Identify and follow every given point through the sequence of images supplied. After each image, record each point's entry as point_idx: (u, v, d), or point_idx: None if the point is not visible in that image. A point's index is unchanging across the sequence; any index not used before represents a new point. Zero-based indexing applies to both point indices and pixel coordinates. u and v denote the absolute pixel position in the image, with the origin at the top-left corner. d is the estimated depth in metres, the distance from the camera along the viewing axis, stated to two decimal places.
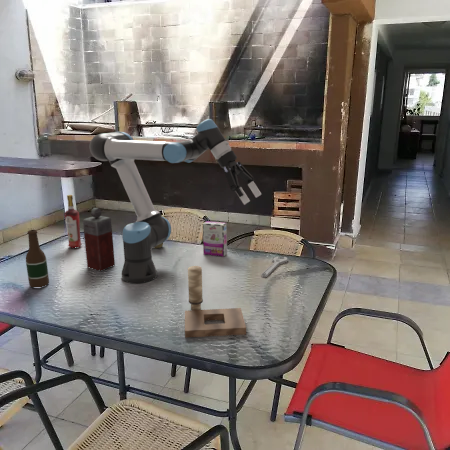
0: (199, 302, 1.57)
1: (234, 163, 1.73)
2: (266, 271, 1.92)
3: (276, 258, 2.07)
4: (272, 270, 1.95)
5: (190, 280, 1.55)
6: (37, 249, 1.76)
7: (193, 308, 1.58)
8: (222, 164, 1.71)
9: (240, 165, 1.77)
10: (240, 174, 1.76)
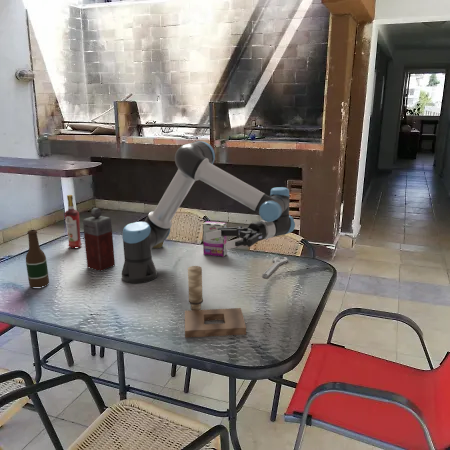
0: (199, 302, 1.57)
1: None
2: (267, 271, 1.92)
3: (276, 258, 2.06)
4: (273, 270, 1.94)
5: (190, 280, 1.55)
6: (37, 249, 1.76)
7: (193, 308, 1.58)
8: (260, 230, 1.65)
9: None
10: (235, 232, 1.67)
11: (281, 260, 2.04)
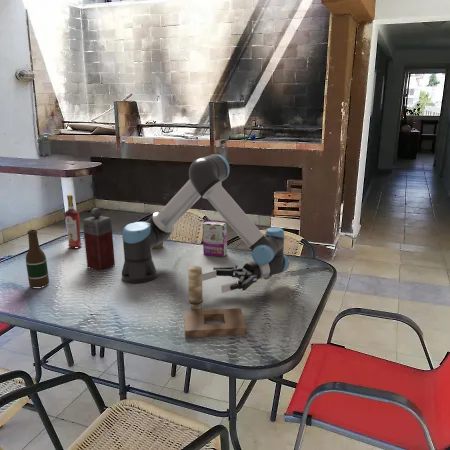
0: (199, 302, 1.57)
1: None
2: None
3: None
4: None
5: (190, 280, 1.55)
6: (37, 249, 1.76)
7: (193, 308, 1.58)
8: (255, 271, 1.68)
9: (234, 272, 1.73)
10: (231, 272, 1.70)
11: None
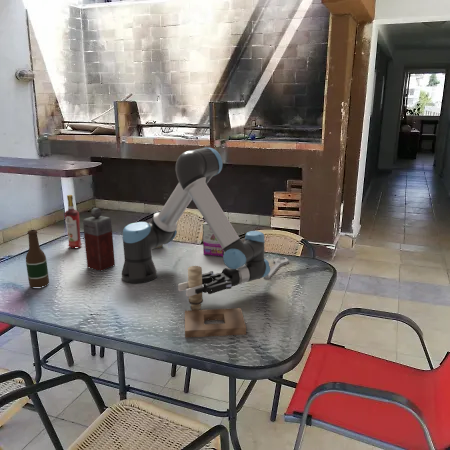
0: (199, 302, 1.57)
1: None
2: None
3: (277, 259, 2.05)
4: (274, 271, 1.93)
5: (190, 280, 1.55)
6: (37, 249, 1.76)
7: (193, 308, 1.58)
8: (233, 276, 1.63)
9: None
10: (210, 279, 1.63)
11: (282, 261, 2.03)
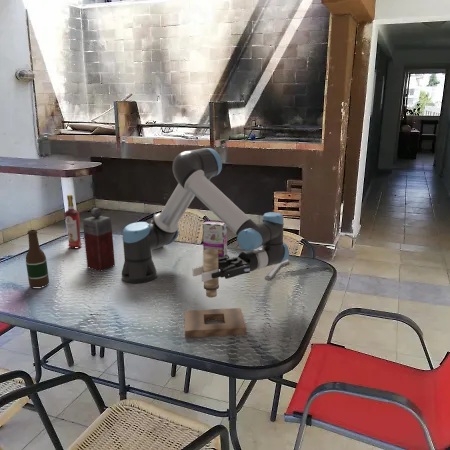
0: (215, 288, 1.45)
1: None
2: (269, 273, 1.90)
3: None
4: (275, 272, 1.92)
5: (206, 264, 1.43)
6: (37, 249, 1.76)
7: (209, 294, 1.46)
8: (251, 260, 1.51)
9: None
10: (226, 264, 1.51)
11: None
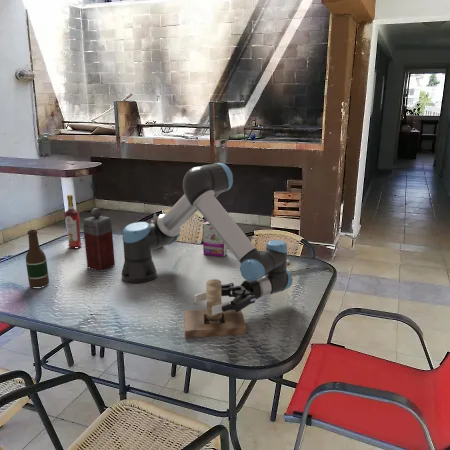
0: (218, 318, 1.45)
1: None
2: None
3: None
4: None
5: (209, 295, 1.43)
6: (37, 249, 1.76)
7: None
8: (254, 290, 1.51)
9: None
10: (228, 292, 1.52)
11: None
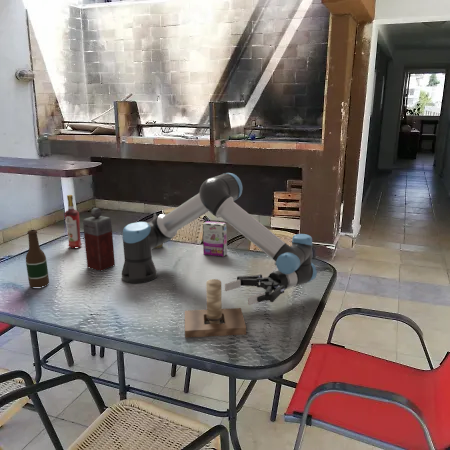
0: (218, 318, 1.45)
1: None
2: None
3: None
4: None
5: (209, 295, 1.43)
6: (37, 249, 1.76)
7: None
8: (282, 281, 1.57)
9: None
10: (256, 282, 1.59)
11: None
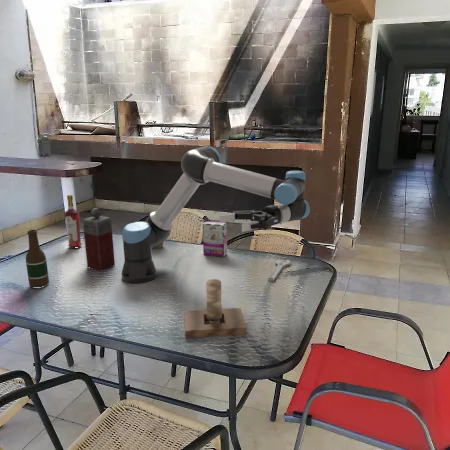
0: (218, 318, 1.45)
1: None
2: (272, 275, 1.88)
3: (279, 261, 2.03)
4: None
5: (209, 295, 1.43)
6: (37, 249, 1.76)
7: None
8: (275, 213, 1.60)
9: None
10: (250, 216, 1.62)
11: (284, 263, 2.01)
